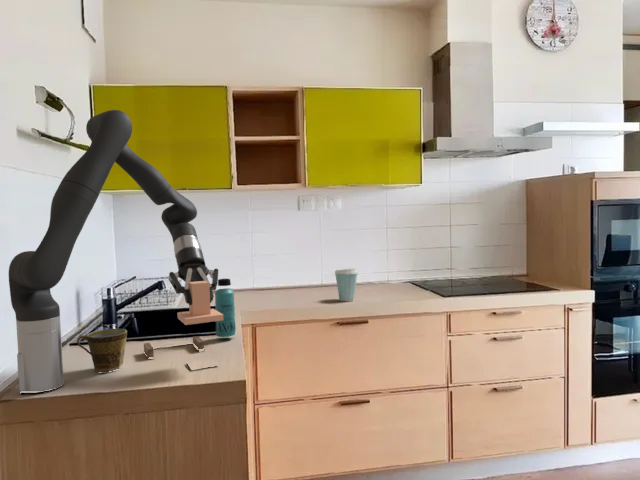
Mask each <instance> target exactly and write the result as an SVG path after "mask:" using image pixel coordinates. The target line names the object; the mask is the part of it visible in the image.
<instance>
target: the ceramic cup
mask: <svg viewBox="0 0 640 480" xmlns="http://www.w3.org/2000/svg"><path fill="white" fill-rule="evenodd" d="M127 336H128V330H127V329H126V328H125V329H124V328H106V329H100V330H95V331H92V332H89V333H87V334H86V335H81V336H78V338H77V341H76V344H77V345H78V347H80V348H81V349H83V350H85V352H87V353H88V354H89V355H90V356H91V359H92V364H93V368H94V371H95V372H96V371H97V372H96V373H98V372H109V371H113V370H116V369H120V368H121V367H122V366H124V357H125V350H126V344H127ZM81 339H83V340H86V341H87V345H88V348H89V350H88V349H87V348H86V347H85V346H84V345H82V344H81V343H80V340H81ZM122 368H123V367H122ZM122 368H121V369H122ZM121 369H120V370H121Z"/></svg>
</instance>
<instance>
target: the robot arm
mask: <svg viewBox="0 0 640 480" xmlns="http://www.w3.org/2000/svg"><path fill="white" fill-rule="evenodd" d="M85 126H86V128H85V129H86V134H87V137H88V138H89V140H90V141H91V143H90V145H89V147H88V149H87V150H85V152H84V154H83V155H81V157H79V159H78V160H76V162H75V163H74V164H73V165H72V166H71V167H70V168H69V170H68V171H67V172H66V173H65V175H64V176H63V178H62V180H61V181H60V183H59V185H58V187H57V189H56V190H55V192H54V195H53V197H52V200H51V204H50V213H49V214H50V215H49V223H48V227H47V230H46V231H45V232H46V233H45V234H44V236H43V237H42V240H41V242H40V243H39V245H38V246H37V248H36V249H35V250H25V251H23V252H20V253H17V254H16V255H15V256H14V257H13V258H12V260H10V264H9V267H8V285H9V293H10V303H11V308H12V310H13V311H14V313H15V324H16V325H15V326H16V338H17V339H16V340H17V354H16V358H17V359H16V360H17V374H18V376H17V377H18V393H19V392H21V391H45V390H49V389H54V388H57V387H59V386H61V385H63V383H64V384H65V380H64V378H65V376H64V375H65V374H64V362H63V360H64V359H63V345H62V330H61V329H62V328H61V312H60V311H61V307H60V305H59V303H58V302H57V301H56V300H55V299H54V297H53V295H52V293H51V289H52V288H54V287H55V286H57V285H58V284H59V283H60V281H61V280H62V278H63V276H64V274H65V271H66V269H67V266H68V264H69V260H70V258H71V255H72V252H73V250H74V246H75V244H76V241H77V239H78V237H79V236H80V234H81V232H82V230H83V227H84V226H85V223H86V222H87V219H88V217H89V216H90V213H91V212H92V210H93V208H94V206H95V204H96V202H97V201H98V198H99V196H100V194H101V192H102V189H103V187H104V185H105V183H106V181H107V179H108V177H109V174H110V173H111V170H112V168H113V166H114V164H115V163H116V164H117V165H118V166H119V167H120V168H121V169H122V170H124V172H125V173H127V174H128V175H129V176H130V177H131V178H132V179H133V181H134V182H136V184H137V185H138V186H139V187H140V188H141V189H142V191H143V192H144V193H145V194H146V195H147V197H148V198H149V199H150V200H151V201H152V203H154V205H156V206H161V205H166V204H172V205H170V206H168V207H167V208H165V209H164V210H162V213H161V217H160V218H161V221H162V223H163V224H164V226H165V227H166V229H167V230H168V232H169V234H170V235H171V238H172V243H173V251H174V252H173V253H174V257H175V261H176V264H177V265H176V266H177V271H176V272H173V271H170V272H169V274H168V281H169V283H170V284H171V287H172V288H173V289H174V291H175V293H176V294H178V295H181V294H182V295H184V301H185V303H186V304H188V306H189V305H192V297H191V292H190V290H189V283H188V282H195V281H207V282H209V287H210V304H211V303H212V302H213V301H214V298H215V295H214V293H213V291H217V286H218V280H219V269H218V268H214V269H209V268H208V266H206V262H205V257H204V253H203V250H202V247H201V243H200V242H199V238H198V234H197V231H196V228H195V226H194V225H193V224H191V223H190V222H191V221H194V220H195V219H196V218H197V216H198V210H197V207H196V205H195V204H194V203H193V202H192V201H191V200H190V199H189V198H187V197H185V196H184V195H182V194H181V193H180V192H179V191H177V190H176V189H175V188H174V187H173V186H172V185H171V184H170V183H169V182H168V180H167V179H166V178H165V176H163V174H162V173H161V172H160V171H159V170H158V169H157V168H156V167H155V166H153V165H151V164H150V163H149V162H147V161H146V160H144V159H143V158H142V157H140V156H139V155H138V154H136V152H135V151H133V150H132V149H131V148H130V147H129V145H127V143H128V142H129V141H130V139H131V137H132V134H133V124H132V121H131V119H130V117H129V115H128V114H127V113H125V112H124V111H122V110H118V109H110V110H105V111H103V112H100V113H99V114H95V115H94V116H91V117H90V118H89V119H88V121H87V122H86V125H85ZM208 275H209V277H210V278H211V279H212V280H211V281H212V282H210V281H209V278H208V277H207V276H208ZM179 278H180V279H181V280H182V281H184V286H183V285H182V284H181V283H180V281H179ZM63 386H64V385H63Z"/></svg>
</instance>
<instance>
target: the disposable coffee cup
mask: <svg viewBox="0 0 640 480" xmlns="http://www.w3.org/2000/svg"><path fill="white" fill-rule="evenodd" d="M358 273H359V271H358V269H357V268H356V267H353V268H352V267H350V268H342V269H341V268H340V269H336V270H335V271H334V275H335V280H336V286H337V293H338V299H339V301H340V302H353V301H354V299H355V294H356V288H357V287H356V285H357V280H358V279H357V278H358Z"/></svg>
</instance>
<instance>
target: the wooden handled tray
mask: <svg viewBox="0 0 640 480" xmlns="http://www.w3.org/2000/svg"><path fill="white" fill-rule="evenodd" d="M192 342H193V343H194V344H195V345H196V346H197V347H198V349H203V348H204V349H205V341H204V340H203V339H202V337H200V336H197V335H195V336H192ZM144 352H145V354H146V355H147V357H148V358H149V357H154V358H155V353H154V350H153V347H152V345H151V343H150V342H145V343H143V353H144ZM145 354H144V355H145ZM147 357H146V358H147Z"/></svg>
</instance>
